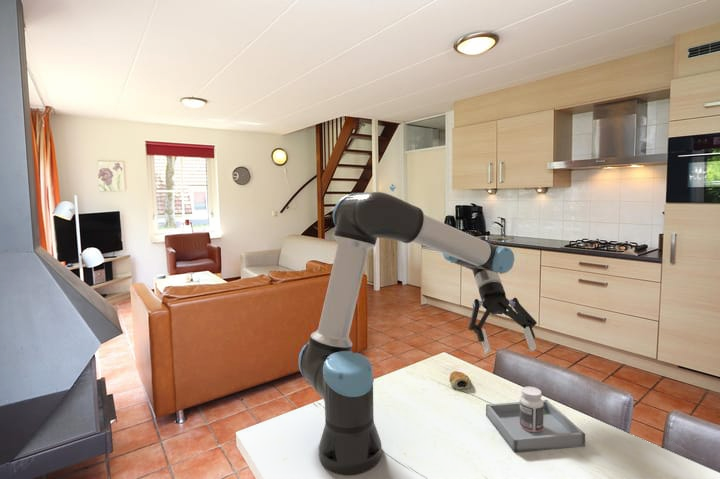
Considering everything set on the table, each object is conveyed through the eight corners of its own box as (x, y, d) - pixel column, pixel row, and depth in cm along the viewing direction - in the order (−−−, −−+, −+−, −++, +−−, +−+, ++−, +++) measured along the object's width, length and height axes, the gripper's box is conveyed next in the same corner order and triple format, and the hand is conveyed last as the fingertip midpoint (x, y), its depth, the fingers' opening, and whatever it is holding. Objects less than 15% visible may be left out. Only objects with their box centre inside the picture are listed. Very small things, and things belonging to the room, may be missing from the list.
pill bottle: (538, 420, 102) (539, 385, 101) (546, 433, 97) (547, 396, 96) (516, 420, 103) (517, 385, 102) (523, 432, 97) (524, 396, 96)
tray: (514, 452, 91) (514, 440, 91) (485, 415, 107) (486, 404, 107) (584, 446, 93) (585, 433, 93) (546, 410, 109) (546, 399, 108)
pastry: (446, 377, 131) (446, 366, 131) (466, 377, 131) (466, 366, 130) (452, 390, 122) (452, 379, 121) (473, 390, 122) (473, 379, 121)
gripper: (522, 291, 126) (546, 353, 113) (449, 294, 124) (465, 357, 111) (532, 279, 120) (558, 343, 107) (455, 281, 118) (472, 347, 105)
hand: (510, 351), depth 109 cm, fingers open, 13 cm apart
